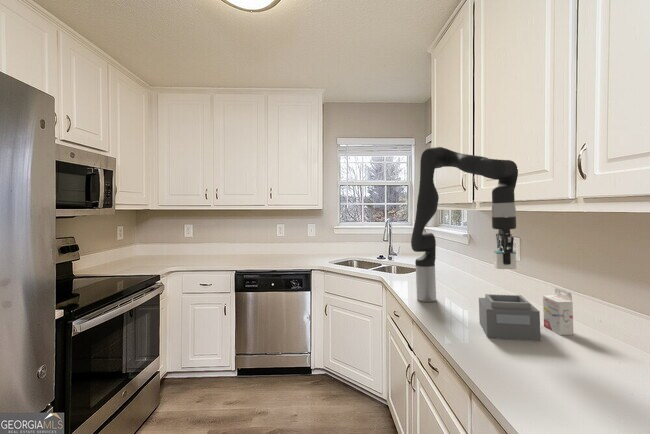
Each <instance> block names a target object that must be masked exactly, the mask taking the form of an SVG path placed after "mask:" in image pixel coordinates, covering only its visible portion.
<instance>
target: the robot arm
mask: <svg viewBox="0 0 650 434" xmlns="http://www.w3.org/2000/svg"><path fill="white" fill-rule="evenodd" d="M419 163H420V165H419V167H420V170H419V171H420V172H419V186H418V195H417V202H416V210H415V211H416V212H415V219H414V225H413V229H412V234H411V241H410V245H411V250H412V251H413V252H416V253H422V252H423V253H424V254H423V255H421V256H420V257H418V258H416V259H415V285H416V300H417V301H419V302H423V303H424V302H425V303H432V302H435V301H437V285H436V283H437V281H436V279H437V278H436V251H437V249H436V247H437V246H436V245H437V242H436V238H435V234H433V233H432V232H424V230H425V227H426V226H427V224H428V223H429V222H430V220H432V218H433V217H434V215H436V213H437V210H438V205H439V192H438V191H437V188H436V185H435V183H434V179H435V178H434V176H435V170H436V169H439V168H444V167H445V168H448V167H450V168H451V167H452V168H456V169H458V170H460V171H462V172H464V173H468V174H470V175H471V174H472V175H476V176H482V177H483V178H487V179H491V180H496V181H497V180H498V182H497V186H495V187H494V188H492V191H491V202H492V204H491V228H492V229H493V230H498V231H497V233H495V238H496V239H495V240H496V248H497V250H498V251H503V252H502V253H503V264H505V265H510V264H511V257H510V254H511V253H513V251H514V240H515V238H514V236H513V235H512V234H511V230H515V229H516V228H517V211H516V210H517V209H516V203H515V202H516V201H515V200H516V199H515V190H516V189H515V188H516V186H517V181H518V176H519V168H518V166H517V163H515V162H514V161H513V160H510V159H498V158H497V159H496V158H494V159H493V158H488V157H485V156H481V155H480V156H479V155H474V154H473V155H472V154H466V153H460V152H457V151H454V150H451V149H449V148H446V147H442V146H436V147H435V146H434V147H429V148H425V149H424V150H423V151H422V153H421V156H420V162H419ZM517 168H518V169H517Z"/></svg>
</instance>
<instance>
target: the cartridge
mask: <svg viewBox="0 0 650 434" xmlns="http://www.w3.org/2000/svg"><path fill="white" fill-rule="evenodd" d="M502 252H503V251H499V250H494V251H493V253H494V255H493V258H494V268H495V269H497V270H517V252H516V251H514V250H513V253H511V254H510V257H511V264H510V265H505V264H503V253H502Z"/></svg>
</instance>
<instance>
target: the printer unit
mask: <svg viewBox="0 0 650 434" xmlns="http://www.w3.org/2000/svg"><path fill="white" fill-rule="evenodd" d="M484 296H485V297H478V311H479V312H478V313H479V314H478V315H479V317H478V320H479V325H480V327H481V328H483V329H482V330H483V332H484V334H485V336H486V338H487V337H489V339H498V338H499V339H502V340H515V341H517V340H518V341H531V342H542V339H541V312H540V310H539V309H538V308H537V307H535V306H534V305H533V304H532V303H530V302H529V301H528V300H527V299H526V298H525V297H524V296H522V295H519V294H493V293H490V294H487V293H485V295H484Z"/></svg>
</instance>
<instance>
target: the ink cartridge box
mask: <svg viewBox="0 0 650 434" xmlns="http://www.w3.org/2000/svg"><path fill="white" fill-rule="evenodd" d="M554 293H555V294H549V295H548V294H547V295H546V294H545V295H542V302H543V304H542V306H543V307H542V309H543V310H542V311H543V327H545V328H547V329H549V330H550V331H551V332H553V333H556V334H557V335H559V336H569V335H570V336H572V335H574V314H573V313H574V312H573V311H574V310H573V307H574V306H573V298H572V292H570V291H567V290H564V289H562V288H560V287H554Z"/></svg>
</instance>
